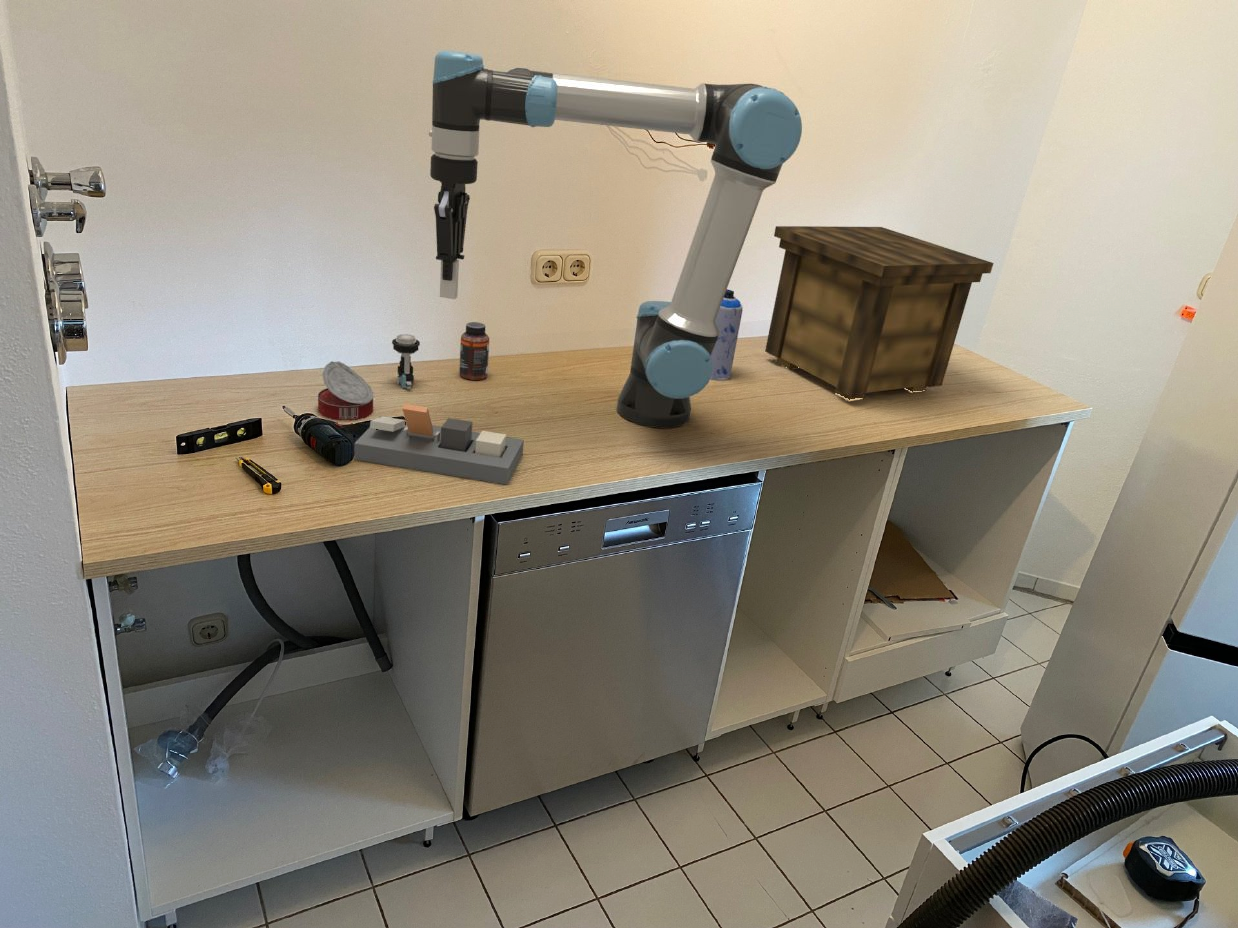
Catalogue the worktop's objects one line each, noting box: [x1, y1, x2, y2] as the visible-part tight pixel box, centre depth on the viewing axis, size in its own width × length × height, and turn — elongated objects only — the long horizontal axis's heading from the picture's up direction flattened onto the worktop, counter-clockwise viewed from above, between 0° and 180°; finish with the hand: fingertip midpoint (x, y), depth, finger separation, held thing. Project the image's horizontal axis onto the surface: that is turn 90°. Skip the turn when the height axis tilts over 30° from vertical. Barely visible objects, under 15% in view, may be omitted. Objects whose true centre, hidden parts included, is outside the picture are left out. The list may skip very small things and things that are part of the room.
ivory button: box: [475, 430, 507, 458], centre depth 154 cm, size 4×4×4 cm
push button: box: [391, 333, 421, 390], centre depth 181 cm, size 7×5×10 cm
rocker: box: [369, 416, 406, 432], centre depth 155 cm, size 4×6×1 cm, turn 173°
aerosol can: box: [710, 288, 743, 382], centre depth 208 cm, size 8×8×20 cm
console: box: [353, 416, 525, 485], centre depth 155 cm, size 26×12×4 cm, turn 83°
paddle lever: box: [402, 403, 435, 439], centre depth 152 cm, size 4×1×8 cm
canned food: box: [317, 360, 374, 422], centre depth 168 cm, size 11×10×10 cm
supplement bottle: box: [458, 321, 490, 381], centre depth 190 cm, size 6×6×11 cm
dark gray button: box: [440, 417, 473, 452], centre depth 154 cm, size 4×4×4 cm
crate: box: [764, 225, 994, 400], centre depth 216 cm, size 35×35×33 cm
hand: (448, 297), depth 157 cm, fingers closed
